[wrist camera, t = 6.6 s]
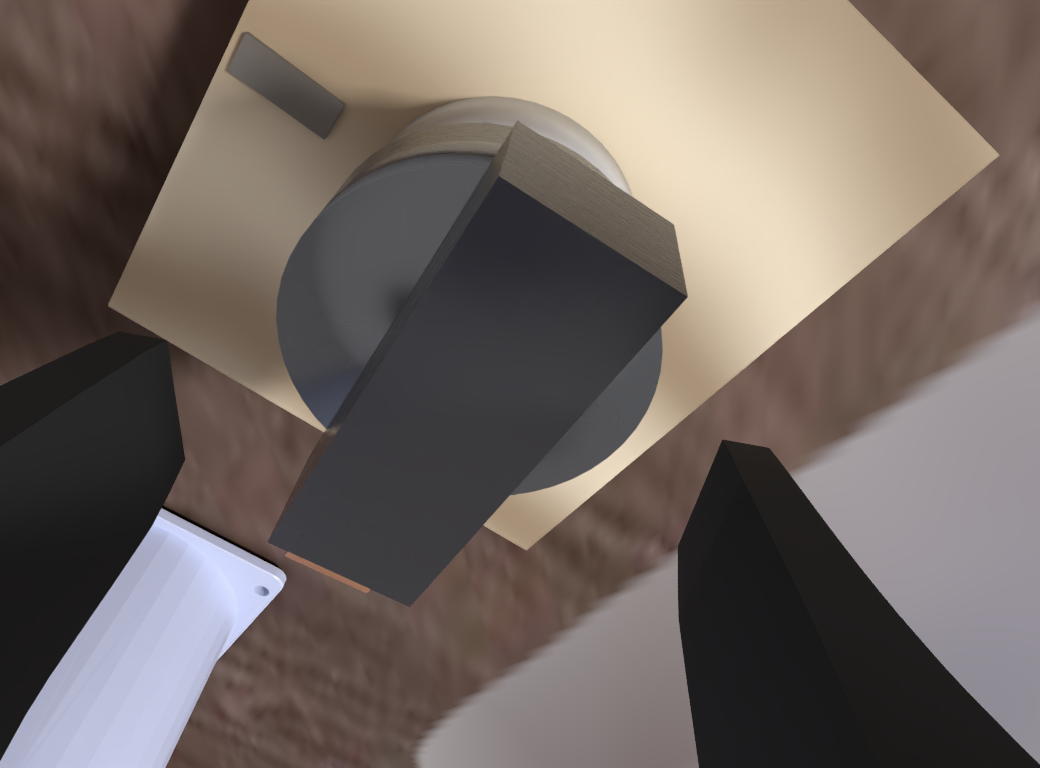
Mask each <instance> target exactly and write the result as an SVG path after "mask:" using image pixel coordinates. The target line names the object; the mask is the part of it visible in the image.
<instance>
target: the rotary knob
mask: <svg viewBox="0 0 1040 768" xmlns="http://www.w3.org/2000/svg"><path fill="white" fill-rule="evenodd" d="M687 297H688V295H687V289H686V284H685V279H684V273H683V268H682V263H681V258H680V252H679V247H678V242H677V237H676V231H675V226H674V224H672V223H671V222H669V221H668V220H666V219H665V218H663V217H662V216H660V215H659V214H657V213H656V212H654V211H653V210H651V209H650V208H648V207H647V206H645V205H644V204H642V203H641V202H639V201H638V200H636V199H635V198H633V197H632V196H630V195H629V194H627V193H626V192H624V191H623V190H621V189H620V188H618V187H617V186H615V185H614V184H613V183H612V182H611V181H610V180H609V179H608V178H607V177H606V176H605V175H604V174H603V173H602V172H601V171H600V170H599V169H598V168H596V167H595V166H594V165H593V164H591V163H590V162H589V161H587V160H586V159H585V158H584V157H582V156H581V155H579V154H578V153H576V152H574V151H572V150H571V149H569V148H567V147H566V146H564V145H562V144H560V143H559V142H556V141H554V140H551V139H549V138H547V137H544V136H542V135H539V134H537V133H536V132H534V131H533V130H531V129H530V128H528V127H527V126H525V125H524V124H522V123H521V122H519V121H518V120H517V121H516V123H515V124H514V126H513V127H512V126H506V125H498V124H491V123H455V124H448V125H441V126H435V127H431V128H428V129H424V130H421V131H417V132H414V133H411V134H409V135H406V136H404V137H402V138H400V139H398V140H395V141H393V142H391V143H389V144H388V145H386V146H385V147H383V148H381V149H380V150H378V151H377V152H375V153H374V154H372V155H371V156H370V157H369V158H367V159H366V160H365V161H364V162H363V163H362V164H361V165H359V166H358V167H357V168H356V169H355V170H354V171H353V172H352V174H351V175H350V176H349V177H348V178H347V180H346V181H345V182H344V183H343V184H342V186H341V187H340V188H339V189H338V191H337V192H336V193H335V195H334V196H333V197H332V198H331V200H330V201H329V202H328V203H327V205H326V206H325V207H324V208H323V210H322V211H321V212H320V214H319V215H318V216H317V217H316V219H315V220H314V221H313V222H312V224H311V225H310V226H309V227H308V229H307V230H306V231H305V233H304V234H303V235H302V236H301V238H300V239H299V241H298V243H297V245H296V246H295V248H294V250H293V251H292V253H291V255H290V257H289V259H288V262H287V264H286V267H285V269H284V272H283V275H282V277H281V282H280V287H279V292H278V297H277V313H276V323H277V332H278V341H279V345H280V349H281V353H282V357H283V360H284V363H285V366H286V368H287V371H288V373H289V376H290V378H291V380H292V383H293V384H294V386H295V388H296V390H297V391H298V393H299V395H300V397H301V398H302V400H303V402H304V403H305V404H306V406H307V407H308V408H309V410H310V411H311V412H312V414H313V415H314V416H315V418H316V419H317V420H318V421H319V422H320V423H321V424H322V425H323V426H324V427H325V428H326V430H325V432H324V434H323V435H322V437H321V439H320V440H319V442H318V443H317V445H316V447H315V448H314V450H313V452H312V453H311V455H310V456H309V458H308V460H307V462H306V464H305V467H304V469H303V471H302V473H301V475H300V477H299V479H298V481H297V483H296V485H295V487H294V489H293V491H292V493H291V495H290V497H289V499H288V501H287V503H286V505H285V507H284V510H283V512H282V514H281V516H280V518H279V520H278V522H277V524H276V526H275V528H274V530H273V532H272V534H271V536H270V538H269V540H268V543H270V544H273V545H275V546H277V547H279V548H281V549H284V550H286V551H287V552H286V554H285V556H286V557H288V558H290V559H292V560H294V561H297V562H299V563H301V564H303V565H306V566H308V567H310V568H312V569H314V570H317V571H319V572H321V573H323V574H325V575H328V576H330V577H332V578H334V579H336V580H339V581H341V582H343V583H345V584H347V585H350V586H352V587H354V588H356V589H359V590H361V591H363V592H365V593H368V592H369V590H370V589H371V590H374V591H376V592H378V593H380V594H382V595H385V596H387V597H389V598H391V599H393V600H396V601H398V602H400V603H402V604H404V605H407V606H409V607H410V606H411V605H412V604H413V603H414V602H415V600H416V599H417V598H418V597H419V596H420V595H421V594H422V593H423V592H424V590H425V589H426V588H427V587H428V586H429V585H430V584H431V583H432V582H433V580H434V579H435V578H436V577H437V576H438V575H439V574H440V573H441V572H442V570H443V569H444V568H445V567H446V566H447V565H448V564H449V563H450V561H451V560H452V559H453V558H454V557H455V556H456V555H457V554H458V553H459V551H460V550H461V549H462V548H463V547H464V546H465V545H466V544H467V543H468V541H469V540H470V539H471V538H472V537H473V536H474V535H475V534H476V533H477V531H478V530H479V529H480V528H481V527H482V526H483V525H484V524H485V523H486V521H487V520H488V519H489V518H490V517H491V516H492V515H493V514H494V512H495V511H496V510H497V509H498V508H499V507H500V506H501V505H502V504H503V502H504V501H505V500H506V499H507V498H508V497H509V496H510V495H516V494H523V493H529V492H534V491H538V490H542V489H546V488H550V487H553V486H556V485H559V484H561V483H564V482H566V481H569V480H572V479H574V478H576V477H578V476H580V475H581V474H583V473H585V472H587V471H589V470H591V469H592V468H594V467H595V466H597V465H598V464H600V463H601V462H603V461H604V460H606V459H607V458H608V457H609V456H611V455H612V454H613V453H614V452H615V451H616V450H617V449H618V448H619V447H621V446H622V445H623V444H624V443H625V441H626V440H627V439H628V438H629V437H630V436H631V434H632V433H633V432H634V431H635V430H636V428H637V427H638V425H639V424H640V422H641V420H642V419H643V417H644V416H645V414H646V412H647V410H648V408H649V406H650V404H651V401H652V399H653V397H654V394H655V392H656V388H657V384H658V380H659V376H660V373H661V363H662V353H663V347H662V331H661V326H662V325H663V324H664V323H665V322H666V321H667V320H668V319H669V318H670V316H671V315H672V314H673V313H674V312H675V311H676V310H677V309H678V308H679V306H680V305H681V304H682V303H683V302H684V301H685V300H686V299H687Z"/></svg>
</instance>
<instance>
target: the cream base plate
mask: <svg viewBox="0 0 1040 768" xmlns="http://www.w3.org/2000/svg"><path fill="white" fill-rule="evenodd" d="M517 120H518V121H519V122H521V123H522V124H524V125H525V126H527V127H528V128H530V129H531V130H533V131H534V132H536V133H537V134H539V135H542V136H544V137H547V138H549V139H551V140H554V141H556V142H559V143H560V144H562V145H564V146H566V147H567V148H569V149H571V150H572V151H574V152H576V153H578V154H579V155H581V156H582V157H584V158H585V159H586V160H587V161H589V162H590V163H591V164H593V165H594V166H595V167H596V168H598V169H599V170H600V171H601V172H602V173H603V174H604V175H605V176H606V177H607V178H608V179H609V180H610V181H611V182H612V183H613V184H614V185H615V186H617V187H618V188H620V189H621V190H623V191H624V192H626V193H627V194H629V195H630V196H632V197H633V198H635V199H636V200H638V201H639V202H641V203H642V204H644V205H645V206H647V207H648V208H650V209H651V210H653V211H654V212H656V213H657V214H659V215H660V216H662V217H663V218H665V219H666V220H668V221H669V222H671V223H672V224H674V226H675V231H676V237H677V242H678V247H679V252H680V258H681V263H682V268H683V273H684V279H685V284H686V289H687V295H688V297H687V299H686V300H685V301H684V302H683V303H682V304H681V305H680V306H679V308H678V309H677V310H676V311H675V312H674V313H673V314H672V315H671V316H670V318H669V319H668V320H667V321H666V322H665V323H664V324H663V325H662V326H661V331H662V347H663V353H662V363H661V373H660V376H659V380H658V384H657V388H656V392H655V394H654V397H653V399H652V401H651V404H650V406H649V408H648V410H647V412H646V414H645V416H644V417H643V419H642V420H641V422H640V424H639V425H638V427H637V428H636V430H635V431H634V432H633V433H632V434H631V436H630V437H629V438H628V439H627V440H626V441H625V443H624V444H623V445H622V446H621V447H619V448H618V449H617V450H616V451H615V452H614V453H613V454H612V455H611V456H609V457H608V458H607V459H606V460H604V461H603V462H601V463H600V464H598V465H597V466H595V467H594V468H592V469H591V470H589V471H587V472H585V473H583V474H581V475H580V476H578V477H576V478H574V479H572V480H569V481H566V482H564V483H561V484H559V485H556V486H553V487H550V488H546V489H542V490H538V491H534V492H529V493H523V494H516V495H510V496H509V497H508V498H507V499H506V500H505V501H504V502H503V504H502V505H501V506H500V507H499V508H498V509H497V510H496V511H495V512H494V514H493V515H492V516H491V517H490V518H489V519H488V520H487V521H486V523H485V524H484V526H485V527H487V528H489V529H491V530H492V531H494V532H496V533H497V534H499V535H501V536H502V537H504V538H506V539H508V540H509V541H511V542H513V543H514V544H516V545H518V546H520V547H521V548H523V549H525V550H527V549H528V548H530V547H531V546H532V545H533V544H534V543H536V542H537V541H538V540H539V539H540V538H542V537H543V536H544V535H545V534H546V533H548V532H549V531H550V530H551V529H552V528H554V527H555V526H556V525H557V524H558V523H560V522H561V521H562V520H563V519H564V518H566V517H567V516H568V515H569V514H570V513H572V512H573V511H574V510H575V509H576V508H578V507H579V506H580V505H581V504H582V503H584V502H585V501H586V500H587V499H588V498H589V497H591V496H592V495H593V494H594V493H595V492H597V491H598V490H599V489H600V488H601V487H603V486H604V485H605V484H606V483H607V482H609V481H610V480H611V479H612V478H613V477H615V476H616V475H617V474H618V473H619V472H621V471H622V470H623V469H624V468H625V467H627V466H628V465H629V464H630V463H631V462H633V461H634V460H635V459H636V458H637V457H639V456H640V455H641V454H642V453H643V452H645V451H646V450H647V449H648V448H649V447H651V446H652V445H653V444H654V443H655V442H657V441H658V440H659V439H660V438H661V437H663V436H664V435H665V434H666V433H667V432H669V431H670V430H671V429H672V428H673V427H675V426H676V425H677V424H678V423H679V422H680V421H682V420H683V419H684V418H685V417H686V416H688V415H689V414H690V413H691V412H692V411H694V410H695V409H696V408H697V407H698V406H700V405H701V404H702V403H703V402H704V401H706V400H707V399H708V398H709V397H710V396H712V395H713V394H714V393H715V392H716V391H718V390H719V389H720V388H721V387H722V386H724V385H725V384H726V383H727V382H728V381H730V380H731V379H732V378H733V377H734V376H736V375H737V374H738V373H739V372H740V371H742V370H743V369H744V368H745V367H746V366H748V365H749V364H750V363H751V362H752V361H754V360H755V359H756V358H757V357H758V356H760V355H761V354H762V353H763V352H764V351H766V350H767V349H768V348H769V347H770V346H771V345H773V344H774V343H775V342H776V341H777V340H779V339H780V338H781V337H782V336H783V335H785V334H786V333H787V332H788V331H789V330H791V329H792V328H793V327H794V326H795V325H797V324H798V323H799V322H800V321H801V320H803V319H804V318H805V317H806V316H807V315H809V314H810V313H811V312H812V311H813V310H815V309H816V308H817V307H818V306H819V305H821V304H822V303H823V302H824V301H825V300H827V299H828V298H829V297H830V296H831V295H833V294H834V293H835V292H836V291H837V290H839V289H840V288H841V287H842V286H843V285H845V284H846V283H847V282H848V281H849V280H851V279H852V278H853V277H854V276H855V275H856V274H858V273H859V272H860V271H861V270H862V269H864V268H865V267H866V266H867V265H868V264H870V263H871V262H872V261H873V260H874V259H876V258H877V257H878V256H879V255H880V254H882V253H883V252H884V251H885V250H886V249H888V248H889V247H890V246H891V245H892V244H894V243H895V242H896V241H897V240H898V239H900V238H901V237H902V236H903V235H904V234H906V233H907V232H908V231H909V230H910V229H912V228H913V227H914V226H915V225H916V224H918V223H919V222H920V221H921V220H922V219H924V218H925V217H926V216H927V215H928V214H930V213H931V212H932V211H933V210H934V209H936V208H937V207H938V206H939V205H940V204H942V203H943V202H944V201H945V200H946V199H947V198H949V197H950V196H951V195H952V194H953V193H955V192H956V191H957V190H958V189H959V188H961V187H962V186H963V185H964V184H965V183H967V182H968V181H969V180H970V179H971V178H973V177H974V176H975V175H976V174H977V173H979V172H980V171H981V170H982V169H983V168H985V167H986V166H987V165H988V164H989V163H991V162H992V161H993V160H994V159H995V158H997V157H998V156H999V154H998V153H997V152H996V151H995V150H994V149H993V148H992V147H991V146H990V145H989V144H988V143H987V142H986V141H985V140H984V139H983V138H982V137H981V136H980V135H979V134H978V133H977V132H976V131H975V130H974V129H973V128H972V127H971V125H970V124H969V123H968V122H967V121H966V120H965V119H964V118H963V117H962V116H961V115H960V114H959V113H958V112H957V111H956V110H955V109H954V108H953V107H952V106H951V105H950V104H949V103H948V102H947V101H946V100H945V99H944V98H943V97H942V96H941V95H940V94H939V93H938V92H937V91H936V90H935V89H934V88H933V87H932V86H931V85H930V84H929V83H928V82H927V81H926V80H925V79H924V78H923V77H922V76H921V75H920V74H919V73H918V71H917V70H916V69H915V68H914V67H913V66H912V65H911V64H910V63H909V62H908V61H907V60H906V59H905V58H904V57H903V56H902V55H901V54H900V53H899V52H898V51H897V50H896V49H895V48H894V47H893V46H892V45H891V44H890V43H889V42H888V41H887V40H886V39H885V38H884V37H883V36H882V35H881V34H880V33H879V32H878V31H877V30H876V29H875V28H874V27H873V26H872V25H871V24H870V23H869V22H868V21H867V20H866V19H865V17H864V16H863V15H862V14H861V13H860V12H859V11H858V10H857V9H856V8H855V7H854V6H853V5H852V4H851V3H850V2H849V1H848V0H249V1H248V3H247V6H246V8H245V10H244V12H243V14H242V16H241V19H240V21H239V23H238V25H237V27H236V29H235V32H234V34H233V36H232V38H231V40H230V42H229V45H228V47H227V49H226V51H225V53H224V55H223V58H222V60H221V62H220V64H219V66H218V68H217V70H216V73H215V75H214V77H213V79H212V81H211V83H210V86H209V88H208V90H207V92H206V94H205V96H204V99H203V101H202V103H201V105H200V107H199V109H198V112H197V114H196V116H195V118H194V120H193V122H192V125H191V127H190V129H189V131H188V133H187V135H186V137H185V140H184V142H183V144H182V146H181V148H180V150H179V153H178V155H177V157H176V159H175V161H174V163H173V166H172V168H171V170H170V172H169V174H168V176H167V179H166V181H165V183H164V185H163V187H162V189H161V192H160V194H159V196H158V198H157V200H156V202H155V204H154V207H153V209H152V211H151V213H150V215H149V217H148V220H147V222H146V224H145V226H144V228H143V230H142V233H141V235H140V237H139V239H138V241H137V243H136V246H135V248H134V250H133V252H132V254H131V256H130V258H129V261H128V263H127V265H126V267H125V269H124V271H123V274H122V276H121V278H120V280H119V282H118V284H117V287H116V289H115V291H114V293H113V295H112V297H111V300H110V302H109V304H108V306H109V307H111V308H112V309H114V310H116V311H117V312H119V313H121V314H123V315H124V316H126V317H128V318H129V319H131V320H133V321H134V322H136V323H138V324H140V325H141V326H143V327H145V328H146V329H148V330H150V331H152V332H153V333H155V334H157V335H158V336H160V337H162V338H164V339H165V340H167V341H169V342H170V343H172V344H174V345H176V346H177V347H179V348H181V349H182V350H184V351H186V352H188V353H189V354H191V355H193V356H194V357H196V358H198V359H200V360H201V361H203V362H205V363H206V364H208V365H210V366H212V367H213V368H215V369H217V370H218V371H220V372H222V373H223V374H225V375H227V376H229V377H230V378H232V379H234V380H235V381H237V382H239V383H241V384H242V385H244V386H246V387H247V388H249V389H251V390H253V391H254V392H256V393H258V394H259V395H261V396H263V397H265V398H266V399H268V400H270V401H271V402H273V403H275V404H277V405H278V406H280V407H282V408H283V409H285V410H287V411H289V412H290V413H292V414H294V415H295V416H297V417H299V418H301V419H302V420H304V421H306V422H307V423H309V424H311V425H312V426H314V427H316V428H318V429H319V430H321V431H323V432H325V430H326V428H325V427H324V426H323V425H322V424H321V423H320V422H319V421H318V420H317V419H316V418H315V416H314V415H313V414H312V412H311V411H310V410H309V408H308V407H307V406H306V404H305V403H304V402H303V400H302V398H301V397H300V395H299V393H298V391H297V390H296V388H295V386H294V384H293V383H292V380H291V378H290V376H289V373H288V371H287V368H286V366H285V363H284V360H283V357H282V353H281V349H280V345H279V341H278V332H277V323H276V313H277V297H278V292H279V287H280V282H281V277H282V275H283V272H284V269H285V267H286V264H287V262H288V259H289V257H290V255H291V253H292V251H293V250H294V248H295V246H296V245H297V243H298V241H299V239H300V238H301V236H302V235H303V234H304V233H305V231H306V230H307V229H308V227H309V226H310V225H311V224H312V222H313V221H314V220H315V219H316V217H317V216H318V215H319V214H320V212H321V211H322V210H323V208H324V207H325V206H326V205H327V203H328V202H329V201H330V200H331V198H332V197H333V196H334V195H335V193H336V192H337V191H338V189H339V188H340V187H341V186H342V184H343V183H344V182H345V181H346V180H347V178H348V177H349V176H350V175H351V174H352V172H353V171H354V170H355V169H356V168H357V167H358V166H359V165H361V164H362V163H363V162H364V161H365V160H366V159H367V158H369V157H370V156H371V155H372V154H374V153H375V152H377V151H378V150H380V149H381V148H383V147H385V146H386V145H388V144H389V143H391V142H393V141H395V140H398V139H400V138H402V137H404V136H406V135H409V134H411V133H414V132H417V131H421V130H424V129H428V128H431V127H435V126H441V125H448V124H455V123H491V124H498V125H506V126H512V127H513V126H514V124H515V123H516V121H517Z"/></svg>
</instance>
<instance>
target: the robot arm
mask: <svg viewBox="0 0 1040 768" xmlns="http://www.w3.org/2000/svg"><path fill="white" fill-rule="evenodd" d="M184 461H185V456H184V449H183V443H182V436H181V430H180V423H179V417H178V410H177V404H176V397H175V391H174V384H173V377H172V371H171V364H170V358H169V351H168V345H167V340H162V339H157V338H151V337H146V336H140V335H134V334H129V333H123V332H118V333H115V334H113V335H110V336H108V337H105V338H103V339H100V340H98V341H95V342H93V343H91V344H89V345H86V346H84V347H82V348H80V349H78V350H75V351H73V352H71V353H69V354H67V355H65V356H62V357H60V358H58V359H56V360H54V361H52V362H50V363H48V364H46V365H43V366H41V367H39V368H37V369H35V370H33V371H31V372H29V373H27V374H24V375H22V376H20V377H18V378H16V379H14V380H12V381H10V382H7V383H5V384H3V385H1V386H0V768H165V767H166V765H167V763H168V761H169V759H170V757H171V755H172V752H173V750H174V748H175V746H176V744H177V742H178V740H179V738H180V736H181V734H182V732H183V730H184V727H185V725H186V723H187V721H188V719H189V717H190V715H191V713H192V711H193V709H194V707H195V705H196V702H197V700H198V698H199V696H200V694H201V692H202V690H203V688H204V686H205V684H206V682H207V679H208V677H209V675H210V673H211V671H212V669H213V667H214V665H215V663H216V661H217V660H218V659H219V658H220V657H221V656H222V655H223V654H224V652H225V651H226V650H227V649H228V648H229V647H230V646H231V645H232V644H233V643H234V641H235V640H236V639H237V638H238V637H239V636H240V635H241V634H242V633H243V632H244V630H245V629H246V628H247V627H248V626H249V625H250V624H251V623H252V622H253V621H254V619H255V618H256V617H257V616H258V615H259V614H260V613H261V612H262V611H263V610H264V608H265V607H266V606H267V605H268V604H269V603H270V602H271V601H272V600H273V599H274V597H275V596H276V595H277V594H278V593H279V592H280V591H281V590H282V588H283V586H284V583H285V581H286V575H285V574H284V572H283V571H282V570H280V569H279V568H277V567H275V566H274V565H272V564H270V563H268V562H266V561H264V560H262V559H260V558H258V557H256V556H254V555H252V554H250V553H248V552H246V551H244V550H242V549H240V548H238V547H236V546H235V545H233V544H231V543H229V542H227V541H225V540H223V539H221V538H219V537H217V536H215V535H213V534H211V533H209V532H207V531H205V530H203V529H201V528H199V527H197V526H196V525H194V524H192V523H190V522H188V521H186V520H184V519H182V518H180V517H178V516H176V515H174V514H172V513H170V512H168V511H166V510H164V509H162V506H163V504H164V502H165V500H166V498H167V497H168V494H169V492H170V490H171V488H172V486H173V484H174V482H175V480H176V478H177V476H178V473H179V471H180V469H181V467H182V465H183V463H184ZM678 607H679V624H680V632H681V640H682V648H683V655H684V662H685V670H686V678H687V685H688V692H689V698H690V706H691V713H692V720H693V727H694V734H695V741H696V749H697V755H698V763H699V768H1040V764H1038V762H1037V761H1035V760H1034V759H1033V758H1032V757H1031V756H1030V755H1029V754H1028V753H1027V752H1026V751H1025V750H1024V749H1023V748H1022V747H1021V746H1020V745H1019V744H1018V743H1017V742H1016V741H1015V740H1014V739H1013V738H1012V737H1011V736H1010V735H1009V734H1008V733H1007V732H1006V731H1005V730H1004V729H1003V728H1002V727H1001V726H1000V725H999V724H998V722H997V721H995V720H994V718H993V717H992V716H991V715H990V714H989V713H988V712H987V711H986V710H985V709H984V708H982V706H981V705H980V704H979V703H978V702H977V701H976V700H975V699H974V698H973V697H972V696H971V695H970V694H969V693H968V692H967V691H966V690H965V689H964V688H963V687H962V686H961V685H960V684H959V682H958V681H957V680H956V679H955V678H954V677H953V676H952V675H951V674H950V673H949V671H948V670H946V668H945V667H944V666H943V665H942V664H941V663H940V662H939V660H938V659H937V658H936V657H935V656H934V655H933V654H932V652H931V651H930V650H929V649H928V648H927V647H926V646H925V644H924V643H923V642H922V641H921V640H920V639H919V637H918V636H916V634H915V633H914V632H913V631H912V630H911V628H910V627H909V626H908V625H907V624H906V623H905V621H904V620H903V619H902V618H901V617H900V616H899V615H898V613H897V612H896V611H895V610H894V608H893V607H892V606H891V605H890V604H889V603H888V601H887V600H886V599H885V598H884V596H882V594H881V593H880V592H879V590H878V589H877V588H876V587H875V585H874V584H873V583H872V582H871V580H870V579H869V578H868V577H867V575H866V574H865V573H864V572H863V570H862V569H861V568H860V567H859V565H858V564H857V563H856V562H855V560H854V559H853V558H852V556H851V555H850V554H849V553H848V551H847V550H846V549H845V548H844V546H843V545H842V543H841V542H840V541H839V540H838V538H837V537H836V536H835V535H834V533H833V532H832V530H831V529H830V528H829V526H828V525H827V524H826V522H825V521H824V520H823V518H822V517H821V516H820V514H819V513H818V512H817V511H816V509H815V508H814V506H813V505H812V504H811V503H810V501H809V500H808V498H807V497H806V496H805V494H804V493H803V492H802V490H801V489H800V488H799V486H798V485H797V484H796V482H795V481H794V480H793V478H792V477H791V476H790V474H789V473H788V472H787V470H786V469H785V468H784V466H783V465H782V464H781V462H780V461H779V460H778V458H777V457H776V456H775V455H774V453H773V452H772V451H771V450H770V449H769V448H766V447H761V446H755V445H750V444H744V443H738V442H733V441H727V440H722V442H721V445H720V447H719V449H718V452H717V454H716V457H715V459H714V461H713V464H712V466H711V469H710V471H709V473H708V476H707V478H706V481H705V483H704V485H703V488H702V490H701V492H700V495H699V497H698V500H697V502H696V504H695V507H694V509H693V512H692V514H691V516H690V519H689V521H688V524H687V526H686V528H685V531H684V533H683V536H682V538H681V540H680V543H679V545H678Z"/></svg>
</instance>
